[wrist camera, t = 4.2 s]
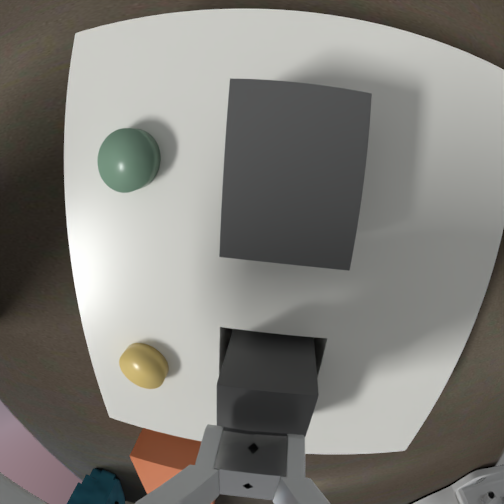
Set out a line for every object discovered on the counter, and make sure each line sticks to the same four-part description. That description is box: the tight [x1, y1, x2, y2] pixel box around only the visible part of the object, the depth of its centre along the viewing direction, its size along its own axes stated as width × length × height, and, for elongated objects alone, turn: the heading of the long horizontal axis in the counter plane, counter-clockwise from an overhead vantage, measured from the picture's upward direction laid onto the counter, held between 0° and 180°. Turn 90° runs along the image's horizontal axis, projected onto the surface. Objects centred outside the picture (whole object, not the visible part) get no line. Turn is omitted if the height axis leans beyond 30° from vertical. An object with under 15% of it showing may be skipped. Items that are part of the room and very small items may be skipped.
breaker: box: [219, 78, 372, 271], centre depth 8 cm, size 3×4×4 cm
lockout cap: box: [130, 428, 215, 504], centre depth 18 cm, size 5×6×4 cm
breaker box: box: [64, 9, 504, 454], centre depth 12 cm, size 16×18×5 cm
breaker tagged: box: [217, 329, 319, 437], centre depth 11 cm, size 3×4×4 cm
